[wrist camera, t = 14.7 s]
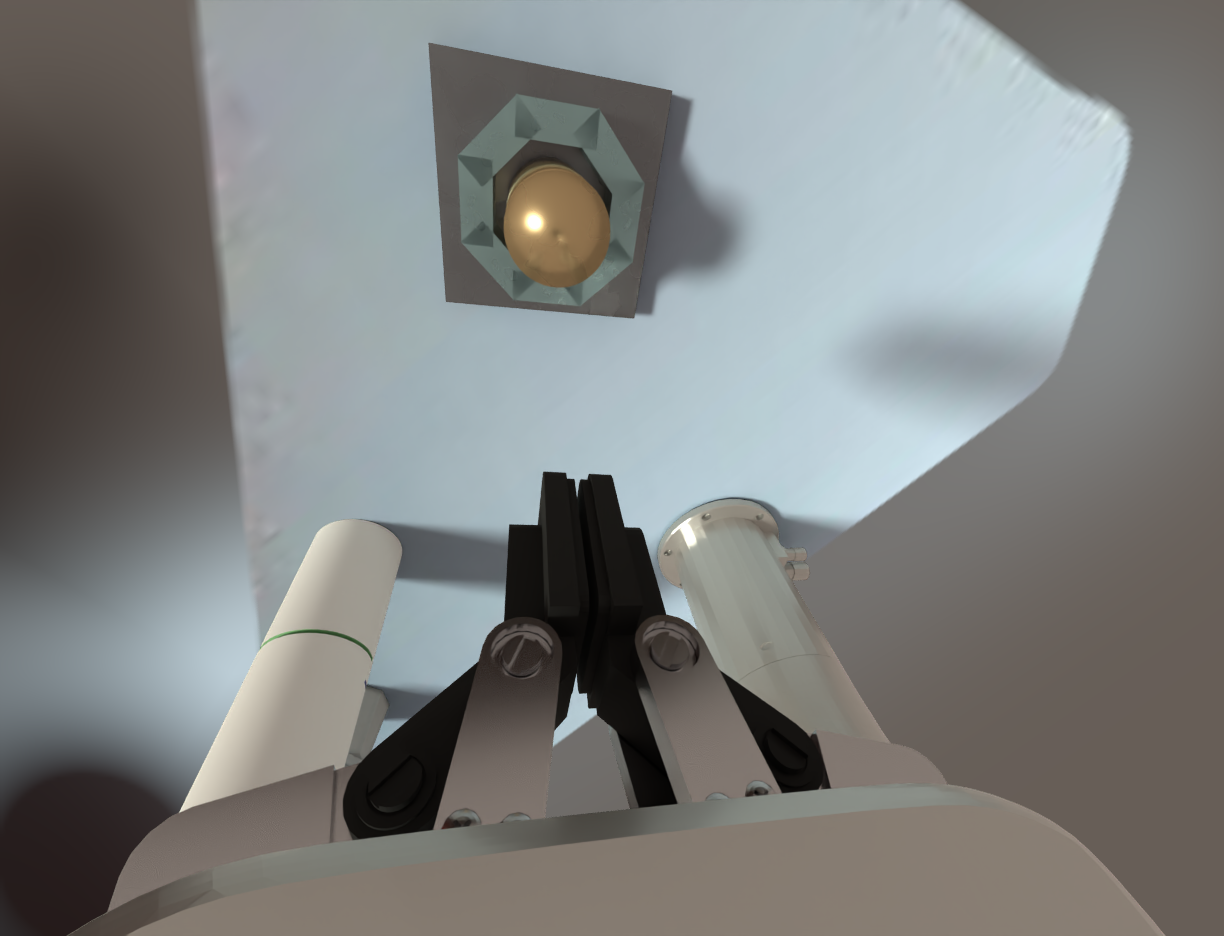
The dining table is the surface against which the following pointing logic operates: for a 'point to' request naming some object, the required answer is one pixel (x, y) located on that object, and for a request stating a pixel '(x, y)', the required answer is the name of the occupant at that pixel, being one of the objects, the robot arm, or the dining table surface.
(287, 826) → the robot arm
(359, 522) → the cylindrical container
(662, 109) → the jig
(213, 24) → the dining table surface
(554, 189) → the gold round-topped cylinder
